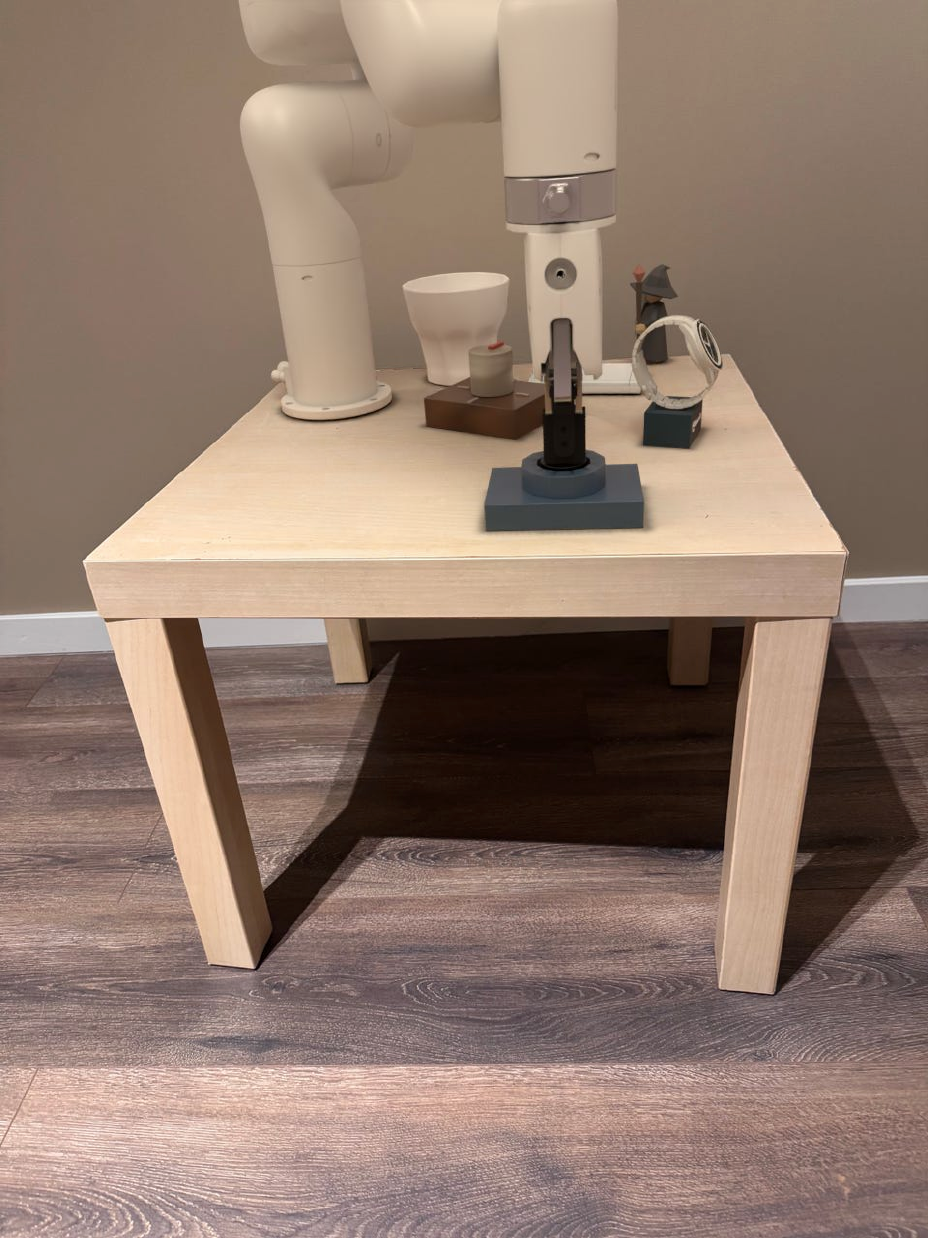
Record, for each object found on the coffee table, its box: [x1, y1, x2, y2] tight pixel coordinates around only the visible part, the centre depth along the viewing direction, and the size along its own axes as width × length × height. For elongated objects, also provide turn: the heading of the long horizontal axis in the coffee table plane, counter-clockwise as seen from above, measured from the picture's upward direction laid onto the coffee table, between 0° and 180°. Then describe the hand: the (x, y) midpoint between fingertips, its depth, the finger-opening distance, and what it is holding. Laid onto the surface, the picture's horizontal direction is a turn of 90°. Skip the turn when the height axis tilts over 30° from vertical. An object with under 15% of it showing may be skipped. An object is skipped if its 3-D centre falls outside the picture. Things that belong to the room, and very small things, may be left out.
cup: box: [401, 271, 510, 387], centre depth 107 cm, size 12×12×11 cm
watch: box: [630, 314, 724, 450], centre depth 83 cm, size 6×8×11 cm
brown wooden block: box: [423, 377, 545, 440], centre depth 93 cm, size 11×9×3 cm
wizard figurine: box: [630, 263, 679, 365], centre depth 106 cm, size 8×6×12 cm
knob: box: [468, 341, 514, 397], centre depth 91 cm, size 4×4×4 cm
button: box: [540, 457, 587, 472], centre depth 71 cm, size 4×4×2 cm
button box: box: [483, 449, 645, 532], centre depth 72 cm, size 12×8×4 cm, turn 84°
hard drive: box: [527, 362, 642, 395], centre depth 103 cm, size 2×8×12 cm
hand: (564, 459), depth 70 cm, fingers closed
